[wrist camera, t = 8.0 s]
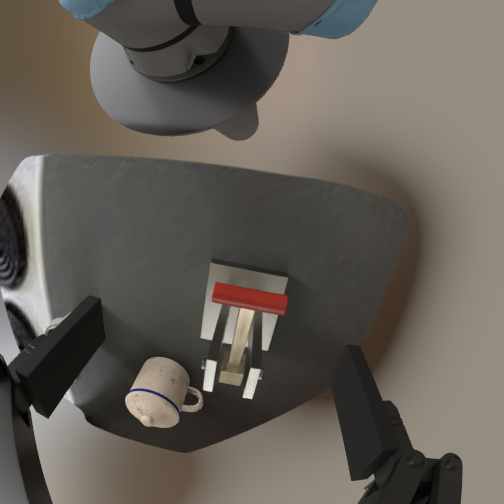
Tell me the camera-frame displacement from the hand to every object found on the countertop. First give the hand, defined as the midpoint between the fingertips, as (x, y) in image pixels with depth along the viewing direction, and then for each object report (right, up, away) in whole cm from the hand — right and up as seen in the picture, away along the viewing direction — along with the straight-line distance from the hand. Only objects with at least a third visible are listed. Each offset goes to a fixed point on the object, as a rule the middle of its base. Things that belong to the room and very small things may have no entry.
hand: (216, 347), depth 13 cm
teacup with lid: (-12, -17, +30) cm, 36 cm away
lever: (+1, -2, +10) cm, 10 cm away
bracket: (0, -3, +25) cm, 25 cm away
